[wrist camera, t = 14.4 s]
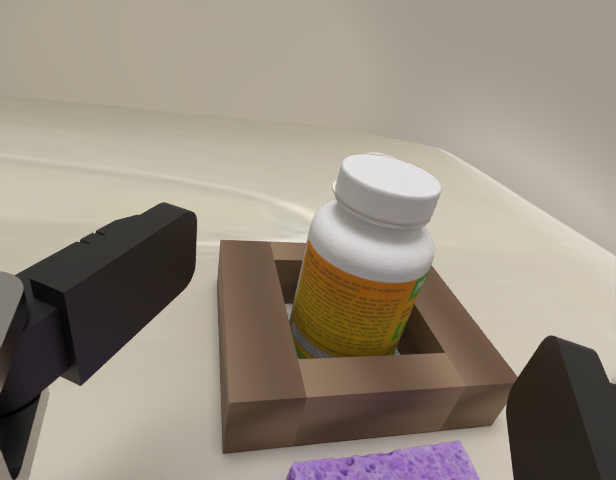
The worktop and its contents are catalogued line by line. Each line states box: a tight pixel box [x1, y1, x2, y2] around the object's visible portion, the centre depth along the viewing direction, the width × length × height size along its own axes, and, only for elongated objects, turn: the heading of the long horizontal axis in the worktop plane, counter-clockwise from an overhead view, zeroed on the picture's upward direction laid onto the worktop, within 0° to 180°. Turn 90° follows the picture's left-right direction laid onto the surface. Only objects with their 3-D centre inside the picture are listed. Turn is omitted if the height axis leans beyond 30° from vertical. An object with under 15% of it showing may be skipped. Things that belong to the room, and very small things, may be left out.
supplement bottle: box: [289, 155, 441, 359], centre depth 18 cm, size 5×5×10 cm
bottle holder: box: [217, 240, 518, 453], centre depth 20 cm, size 12×10×3 cm
